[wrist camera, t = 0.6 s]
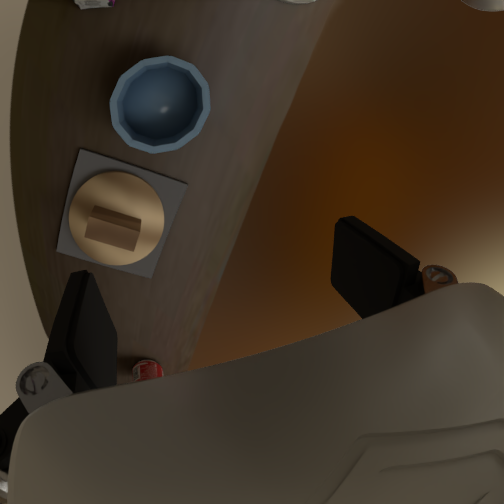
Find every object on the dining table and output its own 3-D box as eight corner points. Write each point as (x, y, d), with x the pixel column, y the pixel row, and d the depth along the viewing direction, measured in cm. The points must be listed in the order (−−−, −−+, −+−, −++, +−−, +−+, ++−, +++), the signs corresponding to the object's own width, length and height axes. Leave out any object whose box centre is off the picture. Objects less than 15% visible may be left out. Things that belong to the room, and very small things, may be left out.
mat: (81, 148, 33) (80, 149, 33) (187, 183, 40) (188, 185, 40) (57, 249, 38) (56, 251, 38) (151, 276, 46) (151, 278, 45)
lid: (84, 158, 33) (75, 166, 29) (178, 189, 40) (181, 201, 36) (63, 247, 38) (54, 265, 34) (147, 271, 44) (147, 291, 40)
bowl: (140, 52, 29) (136, 43, 24) (216, 81, 34) (226, 79, 29) (106, 128, 33) (96, 135, 28) (181, 154, 38) (184, 165, 33)
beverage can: (144, 379, 57) (148, 426, 47) (126, 364, 54) (127, 413, 44) (168, 369, 57) (175, 417, 47) (150, 353, 54) (155, 403, 44)
